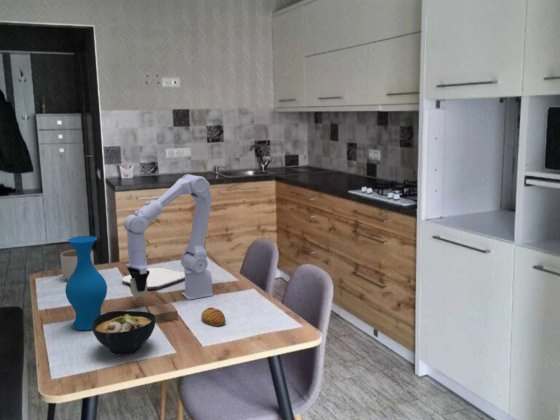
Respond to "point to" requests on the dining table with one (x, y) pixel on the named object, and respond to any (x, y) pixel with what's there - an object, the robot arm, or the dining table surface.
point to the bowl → (123, 330)
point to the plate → (159, 278)
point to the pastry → (213, 317)
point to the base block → (164, 312)
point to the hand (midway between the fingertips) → (139, 289)
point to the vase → (85, 285)
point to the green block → (134, 288)
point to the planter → (70, 262)
